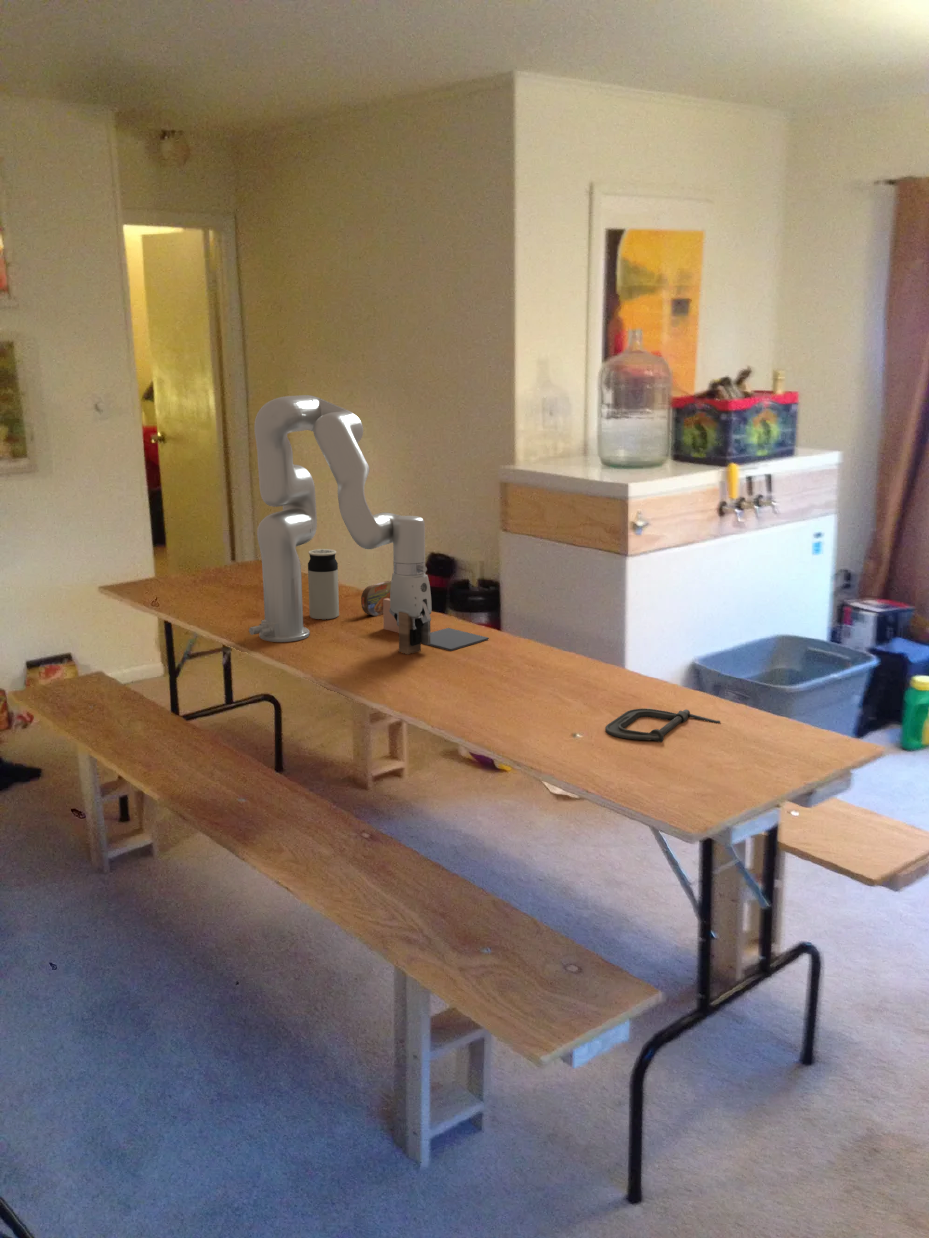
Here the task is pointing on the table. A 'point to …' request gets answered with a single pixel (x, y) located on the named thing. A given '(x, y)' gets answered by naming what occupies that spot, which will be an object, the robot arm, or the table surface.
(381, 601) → the tin
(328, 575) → the travel mug
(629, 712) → the c clamp
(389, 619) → the tile
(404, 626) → the brown grey block
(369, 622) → the table surface
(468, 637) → the mat
